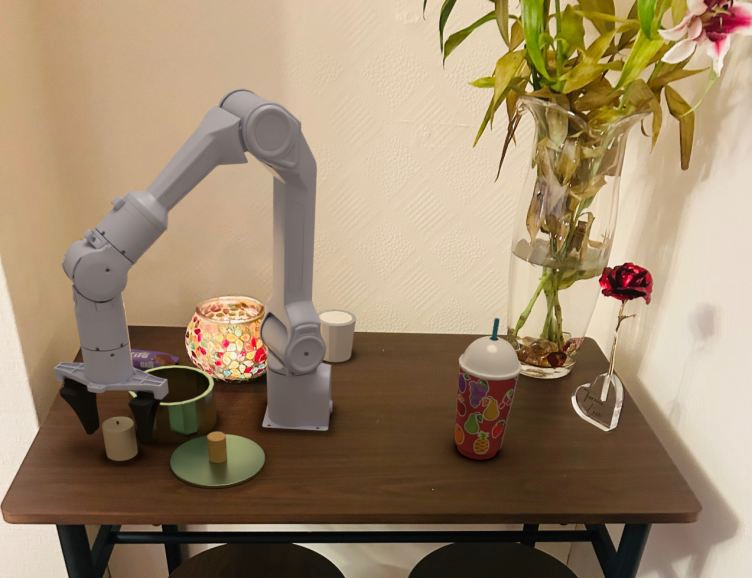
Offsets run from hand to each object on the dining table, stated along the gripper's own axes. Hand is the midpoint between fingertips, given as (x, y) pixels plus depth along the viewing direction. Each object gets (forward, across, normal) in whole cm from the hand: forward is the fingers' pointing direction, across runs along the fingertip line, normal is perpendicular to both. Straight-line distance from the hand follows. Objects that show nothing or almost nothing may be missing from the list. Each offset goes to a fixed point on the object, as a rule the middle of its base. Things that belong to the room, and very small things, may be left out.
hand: (119, 435), depth 102 cm
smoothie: (+3, +46, +17) cm, 49 cm away
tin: (+3, +3, +10) cm, 11 cm away
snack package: (+3, -10, +25) cm, 27 cm away
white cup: (+3, +18, +39) cm, 44 cm away
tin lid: (+3, +13, +2) cm, 13 cm away
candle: (+3, 0, 0) cm, 3 cm away
